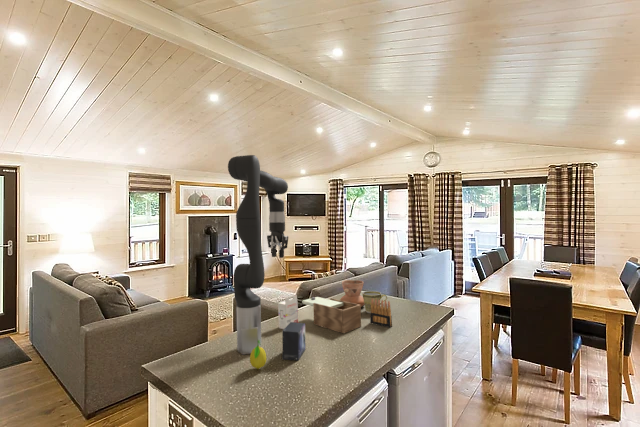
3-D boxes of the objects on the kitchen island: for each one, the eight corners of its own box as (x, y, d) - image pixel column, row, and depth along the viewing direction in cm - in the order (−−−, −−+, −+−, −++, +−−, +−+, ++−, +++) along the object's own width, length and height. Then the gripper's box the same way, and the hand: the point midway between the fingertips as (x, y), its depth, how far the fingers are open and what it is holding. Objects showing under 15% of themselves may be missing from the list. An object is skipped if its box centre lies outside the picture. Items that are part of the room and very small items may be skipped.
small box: (299, 361, 119) (298, 331, 119) (281, 360, 120) (281, 330, 120) (306, 349, 129) (305, 322, 129) (290, 348, 130) (289, 321, 130)
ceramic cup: (361, 313, 174) (360, 294, 174) (364, 308, 184) (364, 290, 184) (386, 315, 171) (386, 295, 171) (388, 310, 180) (387, 291, 180)
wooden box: (361, 326, 154) (360, 304, 154) (343, 333, 146) (343, 310, 146) (331, 318, 168) (330, 298, 168) (313, 324, 159) (313, 303, 159)
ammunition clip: (392, 326, 154) (391, 300, 154) (390, 327, 152) (389, 301, 152) (372, 322, 160) (371, 297, 161) (370, 323, 159) (369, 297, 159)
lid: (343, 305, 161) (343, 300, 161) (328, 310, 153) (328, 304, 153) (317, 299, 173) (317, 294, 173) (302, 303, 166) (302, 298, 166)
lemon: (260, 363, 118) (259, 334, 118) (271, 367, 114) (271, 338, 114) (244, 370, 112) (244, 340, 112) (256, 375, 109) (255, 344, 109)
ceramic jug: (357, 312, 177) (357, 285, 178) (334, 308, 185) (334, 282, 185) (371, 304, 193) (371, 280, 193) (348, 301, 200) (348, 277, 200)
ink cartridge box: (290, 323, 161) (290, 292, 161) (298, 325, 158) (297, 294, 158) (278, 328, 154) (277, 296, 154) (286, 330, 151) (285, 297, 151)
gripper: (261, 221, 161) (262, 257, 161) (280, 221, 151) (280, 259, 151) (274, 221, 166) (274, 255, 166) (292, 221, 156) (293, 257, 156)
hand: (277, 257), depth 158 cm, fingers open, 5 cm apart
